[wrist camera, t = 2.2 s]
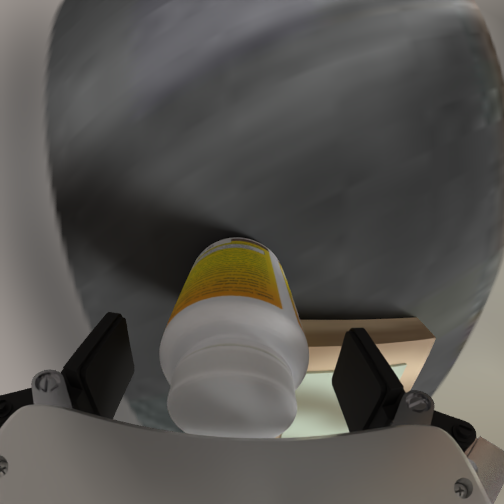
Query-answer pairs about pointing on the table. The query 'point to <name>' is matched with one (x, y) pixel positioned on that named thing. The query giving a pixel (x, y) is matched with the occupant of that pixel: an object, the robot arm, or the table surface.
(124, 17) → the table surface
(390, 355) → the base
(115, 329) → the robot arm
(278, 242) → the table surface
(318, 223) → the table surface
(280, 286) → the supplement bottle
